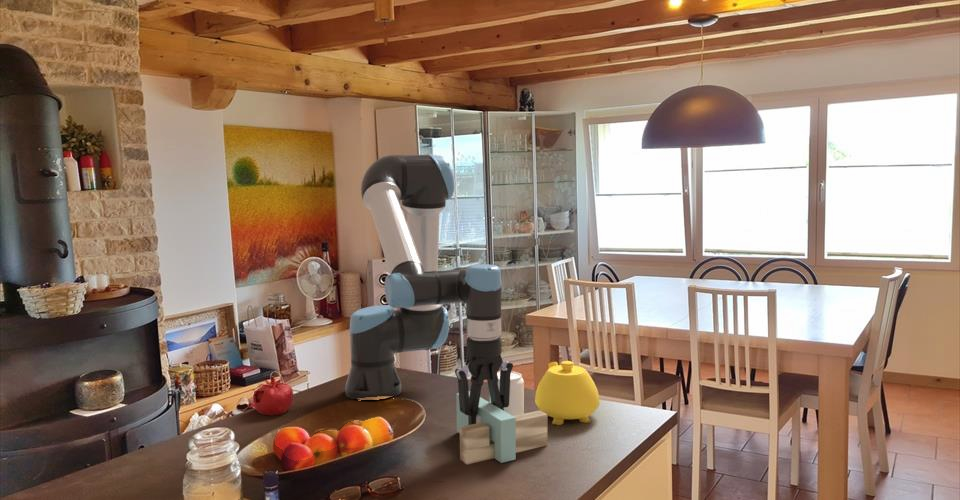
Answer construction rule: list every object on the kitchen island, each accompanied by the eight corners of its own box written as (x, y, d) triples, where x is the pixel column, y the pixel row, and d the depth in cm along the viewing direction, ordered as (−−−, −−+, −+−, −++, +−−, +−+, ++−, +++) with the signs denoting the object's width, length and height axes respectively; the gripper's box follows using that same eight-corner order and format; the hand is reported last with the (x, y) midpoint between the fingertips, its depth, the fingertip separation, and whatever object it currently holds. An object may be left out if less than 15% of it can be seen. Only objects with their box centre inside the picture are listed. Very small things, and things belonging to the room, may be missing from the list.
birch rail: (460, 459, 145) (459, 427, 144) (539, 440, 155) (539, 410, 154) (466, 464, 142) (466, 431, 142) (547, 445, 152) (547, 414, 151)
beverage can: (521, 431, 160) (521, 381, 159) (486, 429, 162) (486, 379, 161) (526, 419, 168) (525, 371, 167) (493, 417, 170) (492, 369, 168)
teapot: (523, 403, 180) (523, 351, 179) (580, 398, 183) (581, 347, 182) (545, 430, 161) (545, 373, 159) (609, 425, 164) (609, 368, 162)
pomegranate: (296, 404, 181) (296, 369, 181) (290, 417, 172) (290, 380, 171) (257, 405, 180) (256, 370, 179) (249, 418, 170) (248, 381, 170)
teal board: (456, 431, 160) (456, 393, 159) (470, 428, 162) (469, 390, 161) (501, 462, 143) (501, 420, 142) (515, 459, 144) (515, 417, 143)
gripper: (457, 345, 142) (458, 455, 145) (526, 335, 150) (526, 439, 153) (441, 338, 149) (443, 443, 151) (508, 328, 157) (508, 429, 159)
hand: (485, 441), depth 152 cm, fingers open, 4 cm apart
